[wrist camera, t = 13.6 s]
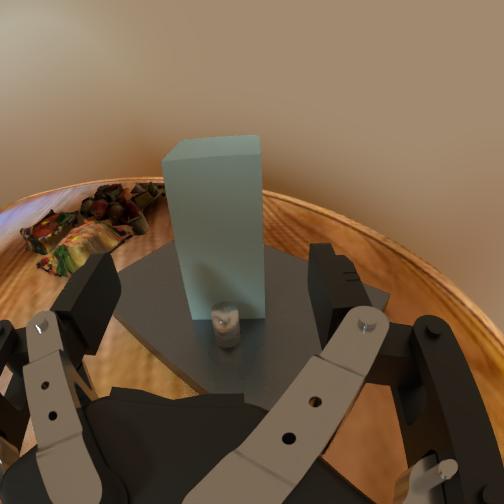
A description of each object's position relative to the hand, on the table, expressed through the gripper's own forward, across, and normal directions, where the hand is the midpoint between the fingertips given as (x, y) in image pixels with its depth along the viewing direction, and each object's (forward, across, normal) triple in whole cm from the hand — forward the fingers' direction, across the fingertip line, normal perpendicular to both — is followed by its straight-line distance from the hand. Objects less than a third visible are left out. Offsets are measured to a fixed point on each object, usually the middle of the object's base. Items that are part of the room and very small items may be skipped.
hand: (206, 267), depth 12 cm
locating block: (+8, 0, +8) cm, 11 cm away
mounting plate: (+8, 0, +10) cm, 12 cm away
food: (+24, +19, +10) cm, 32 cm away
